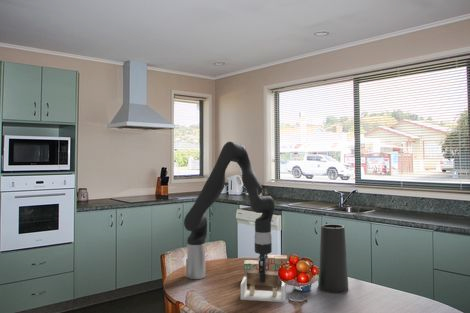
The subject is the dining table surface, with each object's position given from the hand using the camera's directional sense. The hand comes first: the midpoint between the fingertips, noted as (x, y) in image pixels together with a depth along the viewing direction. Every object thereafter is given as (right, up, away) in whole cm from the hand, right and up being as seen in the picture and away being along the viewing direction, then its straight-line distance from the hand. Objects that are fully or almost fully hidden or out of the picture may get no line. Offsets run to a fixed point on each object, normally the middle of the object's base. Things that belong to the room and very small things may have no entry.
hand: (263, 279), depth 166 cm
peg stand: (0, -7, 0) cm, 7 cm away
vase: (+33, -7, +10) cm, 36 cm away
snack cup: (+19, -7, +9) cm, 22 cm away
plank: (0, -2, 0) cm, 2 cm away
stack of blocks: (+3, -8, +21) cm, 23 cm away
